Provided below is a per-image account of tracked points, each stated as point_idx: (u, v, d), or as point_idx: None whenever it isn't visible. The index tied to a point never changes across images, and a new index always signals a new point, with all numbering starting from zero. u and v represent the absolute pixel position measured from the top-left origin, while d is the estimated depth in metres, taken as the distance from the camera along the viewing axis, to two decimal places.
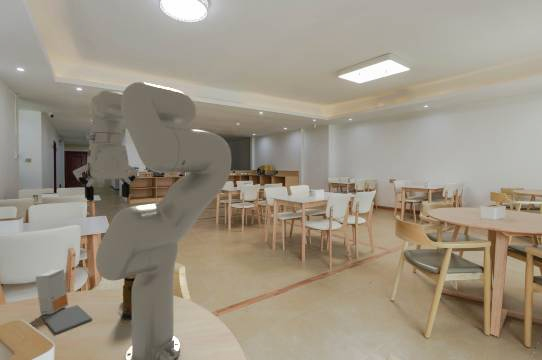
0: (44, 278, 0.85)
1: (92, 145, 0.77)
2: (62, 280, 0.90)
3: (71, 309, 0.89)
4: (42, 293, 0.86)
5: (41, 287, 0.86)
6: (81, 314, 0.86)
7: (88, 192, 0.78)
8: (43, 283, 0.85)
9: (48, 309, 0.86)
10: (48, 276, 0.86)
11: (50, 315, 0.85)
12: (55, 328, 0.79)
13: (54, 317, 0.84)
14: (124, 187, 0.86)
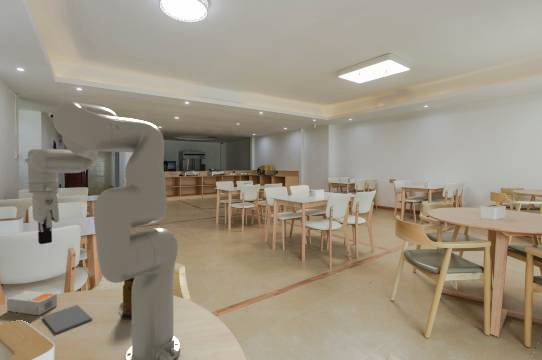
0: (9, 302, 0.88)
1: (53, 194, 0.90)
2: (30, 292, 0.92)
3: (71, 309, 0.89)
4: (21, 308, 0.87)
5: (16, 307, 0.87)
6: (81, 314, 0.86)
7: None
8: (13, 305, 0.87)
9: (35, 305, 0.86)
10: (9, 298, 0.88)
11: (50, 315, 0.85)
12: (55, 328, 0.79)
13: (54, 317, 0.84)
14: None
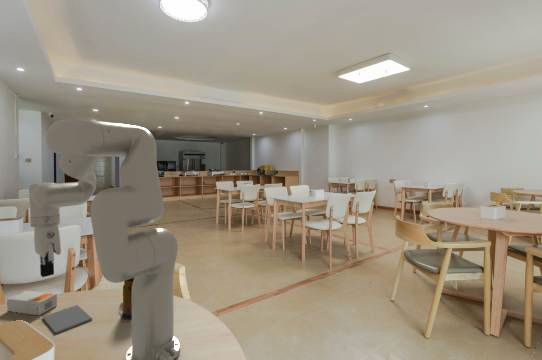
0: (9, 302, 0.88)
1: (54, 227, 0.90)
2: (30, 292, 0.92)
3: (71, 309, 0.89)
4: (21, 308, 0.87)
5: (16, 307, 0.87)
6: (81, 314, 0.86)
7: None
8: (13, 305, 0.87)
9: (35, 305, 0.86)
10: (9, 298, 0.88)
11: (50, 315, 0.85)
12: (55, 328, 0.79)
13: (54, 317, 0.84)
14: None
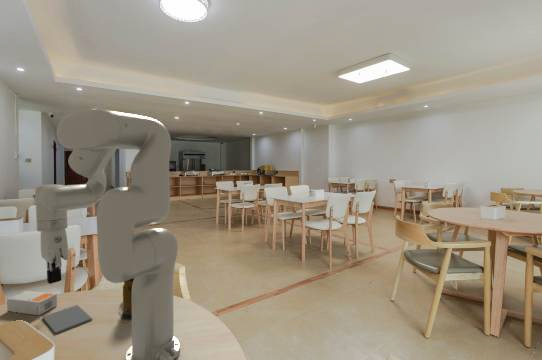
0: (9, 302, 0.88)
1: (62, 231, 0.86)
2: (30, 292, 0.92)
3: (71, 309, 0.89)
4: (21, 308, 0.87)
5: (16, 307, 0.87)
6: (81, 314, 0.86)
7: None
8: (13, 305, 0.87)
9: (35, 305, 0.86)
10: (9, 298, 0.88)
11: (50, 315, 0.85)
12: (55, 328, 0.79)
13: (54, 317, 0.84)
14: None
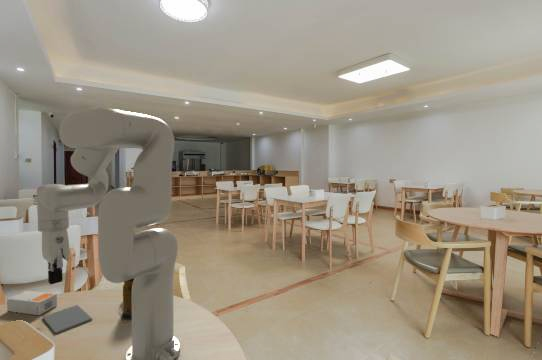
0: (9, 302, 0.88)
1: (63, 231, 0.85)
2: (30, 292, 0.92)
3: (71, 309, 0.89)
4: (21, 308, 0.87)
5: (16, 307, 0.87)
6: (81, 314, 0.86)
7: None
8: (13, 305, 0.87)
9: (35, 305, 0.86)
10: (9, 298, 0.88)
11: (50, 315, 0.85)
12: (55, 328, 0.79)
13: (54, 317, 0.84)
14: None
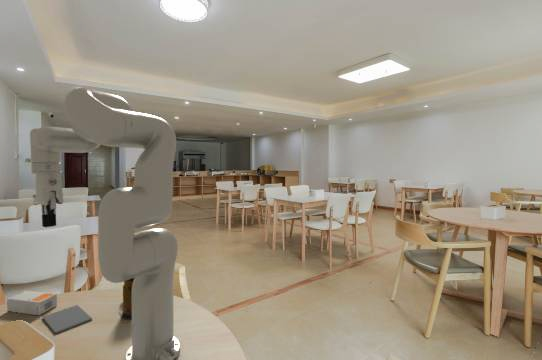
0: (9, 302, 0.88)
1: (56, 174, 0.87)
2: (30, 292, 0.92)
3: (71, 309, 0.89)
4: (21, 308, 0.87)
5: (16, 307, 0.87)
6: (81, 314, 0.86)
7: None
8: (13, 305, 0.87)
9: (35, 305, 0.86)
10: (9, 298, 0.88)
11: (50, 315, 0.85)
12: (55, 328, 0.79)
13: (54, 317, 0.84)
14: None
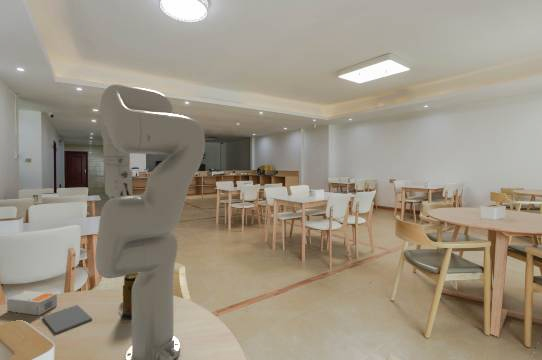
0: (9, 302, 0.88)
1: (127, 168, 0.90)
2: (30, 292, 0.92)
3: (71, 309, 0.89)
4: (21, 308, 0.87)
5: (16, 307, 0.87)
6: (81, 314, 0.86)
7: None
8: (13, 305, 0.87)
9: (35, 305, 0.86)
10: (9, 298, 0.88)
11: (50, 315, 0.85)
12: (55, 328, 0.79)
13: (54, 317, 0.84)
14: None
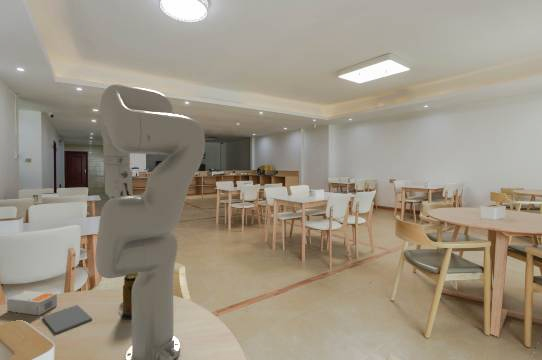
0: (9, 302, 0.88)
1: (127, 167, 0.90)
2: (30, 292, 0.92)
3: (71, 309, 0.89)
4: (21, 308, 0.87)
5: (16, 307, 0.87)
6: (81, 314, 0.86)
7: None
8: (13, 305, 0.87)
9: (35, 305, 0.86)
10: (9, 298, 0.88)
11: (50, 315, 0.85)
12: (55, 328, 0.79)
13: (54, 317, 0.84)
14: None
